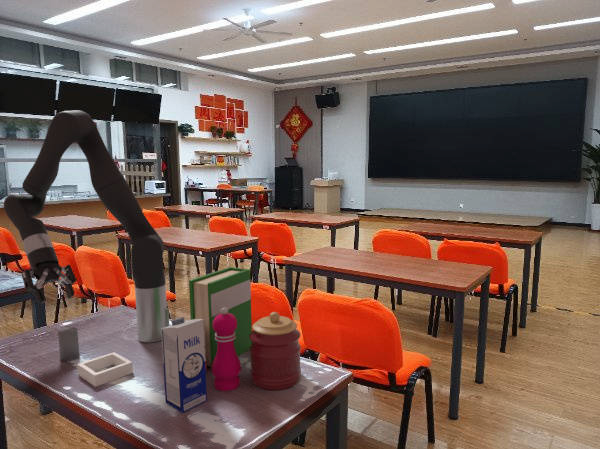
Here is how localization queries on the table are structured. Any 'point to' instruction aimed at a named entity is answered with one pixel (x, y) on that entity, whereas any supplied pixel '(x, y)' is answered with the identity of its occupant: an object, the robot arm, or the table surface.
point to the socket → (96, 379)
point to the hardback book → (223, 306)
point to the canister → (275, 353)
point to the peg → (68, 343)
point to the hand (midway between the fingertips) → (57, 299)
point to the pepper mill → (225, 353)
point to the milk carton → (184, 364)
